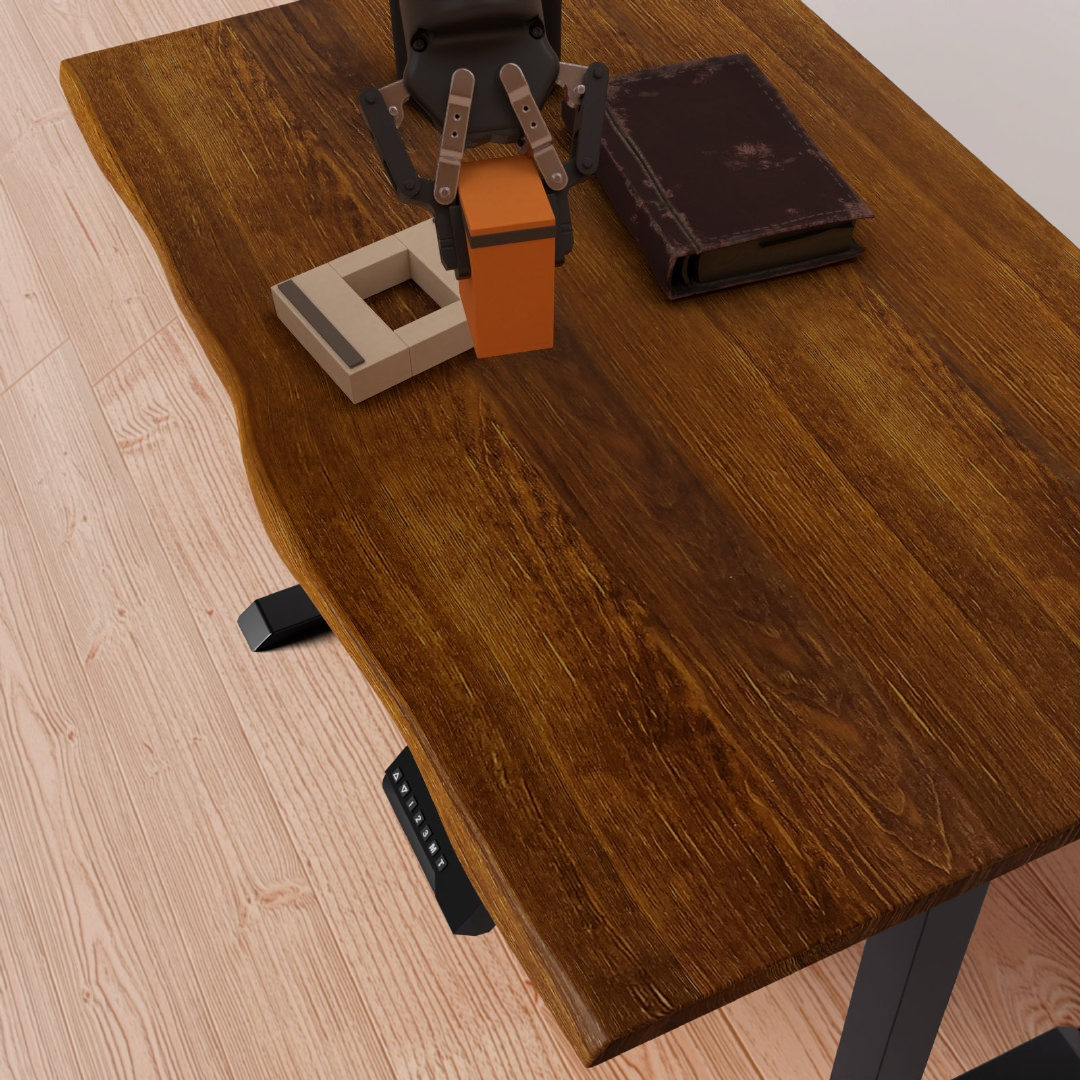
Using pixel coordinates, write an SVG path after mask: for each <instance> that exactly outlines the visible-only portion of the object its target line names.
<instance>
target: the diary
mask: <svg viewBox="0 0 1080 1080" xmlns="http://www.w3.org/2000/svg"><path fill="white" fill-rule="evenodd" d="M560 103H561V104H560V116H561V119H562V121H563V123H564V125H565V128H566V129H567V131H568V133H569V134H570V136H571V137H572V136H573V128H574V120H575V111H576V109H574V108H571V107H570V106H569V105H568V104H567V103H566V100H565V95H564V96H563V99H562V101H561V102H560ZM594 174H595V177H596V178H597V180H598V181H599V183H600V185H601V187H602V189H603V191H604V192H605V194H606V196H607V198H608V199H609V202H610V203H611V205H612V207H613V209H614V211H615V212H616V213H617V215H618V217H619V218H620V219H621V221H622V223H623V224H624V226H625V227H626V229H627V231H628V232H629V233H630V235H631V237H632V238H633V240H634V241H635V243H636V244H637V246H638V248H639V249H640V251H641V253H642V254H643V256H644V258H645V260H646V262H647V264H648V265H649V267H650V269H651V271H652V273H653V274H654V277H655V278H656V281H657V282H658V285H659V286H660V287H661V289H662V291H663V293H664V295H665V296H666V298H667V299H669V300H670V301H674V300H677V299H681V298H686V297H689V296H693V295H694V294H695V295H700V294H705V293H708V292H709V293H710V292H712V291H717V290H722V289H727V288H731V287H735V286H740V285H745V284H750V283H754V282H759V281H764V280H768V279H772V278H777V277H781V276H785V275H790V274H795V273H800V272H804V271H809V270H813V269H816V268H820V267H824V266H827V265H830V264H831V265H832V264H835V263H838V262H842V261H846V260H850V259H853V258H855V257H858V256H860V255H861V254H863V253H865V252H867V249H866V247H864V246H861V245H859V243H858V242H857V241H856V240H855V238H854V237H853V234H854V231H855V228H856V223H857V220H863V219H875V218H876V216H875V214H874V213H873V211H872V210H871V209H870V208H869V206H868V205H867V204H866V202H864V201H863V199H862V198H861V196H859V194H858V193H857V192H856V190H855V189H854V188H853V187H852V186H851V184H850V183H849V182H848V181H847V180H846V178H845V177H844V176H843V174H842V173H841V172H840V170H838V168H836V166H835V165H834V164H833V162H832V161H831V160H830V159H829V157H828V156H827V155H826V154H825V152H824V151H823V150H822V149H821V147H820V146H819V145H818V144H817V143H816V142H815V140H814V139H813V138H812V137H811V135H810V134H809V132H808V131H807V130H806V129H805V128H804V126H803V125H802V124H801V122H800V120H799V119H798V117H797V115H795V113H794V112H793V111H792V109H791V108H790V106H789V105H788V104H787V102H786V100H785V99H784V97H782V94H781V93H780V92H779V91H778V89H777V88H776V87H775V85H774V84H773V83H772V81H770V80H769V78H768V77H767V76H766V75H765V74H764V72H763V71H762V70H761V69H760V67H758V65H757V64H756V63H755V61H754V60H753V59H752V58H751V56H749V54H748V53H747V52H746V51H743V52H738V53H731V54H725V55H718V56H713V57H712V56H711V57H706V58H701V59H694V60H688V61H683V62H677V63H676V62H675V63H670V64H666V65H660V66H655V67H651V68H646V69H642V70H641V69H640V70H637V71H633V72H632V71H631V72H628V73H624V74H619V75H615V76H611V77H610V76H609V80H608V88H607V97H606V105H605V113H604V121H603V130H602V138H601V146H600V154H599V163H598V168H597V170H596V171H595V172H594Z"/></svg>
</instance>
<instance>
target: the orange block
mask: <svg viewBox="0 0 1080 1080" xmlns="http://www.w3.org/2000/svg"><path fill="white" fill-rule="evenodd" d="M456 202H457V206H458V205H460V208H461V214H462V220H463V224H464V227H465V233H466V240H467V246H468V252H469V259H470V265H471V277H470V278H469V279H464V280H458V282H459V294H460V297H461V301H462V305H463V308H464V312H465V315H466V319H467V323H468V326H469V330H470V334H471V337H472V341H473V345H474V347H473V348H474V352H475V355H476V358H477V359H485V358H492V357H499V356H506V355H512V354H519V353H525V352H532V351H539V350H546V349H552V348H554V326H555V324H554V323H555V320H554V319H555V268H556V267H555V237H556V223H555V217H554V214H553V211H552V209H551V206H550V203H549V201H548V198H547V195H546V193H545V190H544V187H543V185H542V182H541V179H540V177H539V174H538V171H537V169H536V166H535V163H534V160H533V158H532V157H531V158H529V159H528V158H527V157H526V156H525V155H520V154H518V155H510V156H509V155H508V156H502V157H494V158H487V159H486V158H485V159H477V160H469V161H462V162H461V167H460V173H459V180H458V186H457V193H456Z"/></svg>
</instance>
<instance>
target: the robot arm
mask: <svg viewBox="0 0 1080 1080" xmlns="http://www.w3.org/2000/svg"><path fill="white" fill-rule="evenodd" d="M399 5H400V11H401V17H402V24H403V30H404V36H405V43H406V49H407V65H406V67H405V70H404V73H403V79H401V80H399V81H398V80H396V81H395V82H392V83H389V84H387V85H384V86H382V87H379V88H377V87H375V86H370V85H367V86H366V87H364V88H363V89H361V91H360V93H359V97H358V112H359V115H360V118H361V121H362V122H363V124H364V126H365V129H366V131H367V133H368V135H369V139H370V141H371V142H372V144H373V147H374V149H375V151H376V153H377V155H378V156H377V157H378V158H379V160H380V163H381V164H382V167H383V170H384V171H385V173H386V175H387V178H388V180H389V182H390V184H391V187H392V189H393V191H394V193H395V196H396V197H397V200H398V202H400V203H402V204H403V205H407V206H409V205H415V206H418V207H423V208H425V209H427V210H428V211H429V212H430V213H431V214H432V216H433V217H434V221H435V228H436V234H437V240H438V247H439V253H440V259H441V263H442V265H443V267H444V268H445V270H446V271H448V270H454V272H455V277H456V280H464V279H469V278H470V277H471V265H470V259H469V252H468V246H467V240H466V233H465V227H464V224H463V220H462V214H461V208H460V205H458V206H457V202H456V193H457V186H458V180H459V173H460V167H461V162H463V157H464V151H465V150H469V149H476V148H478V147H480V146H483V145H486V144H489V143H490V144H491V143H492V144H498V145H511V144H514V146H515V148H516V151H517V152H518V155H525V156H526V157H527V158H528V159H529V158H531V157H532V158H533V160H534V163H535V166H536V169H537V171H538V174H539V177H540V179H541V182H542V185H543V187H544V190H545V193H546V195H547V198H548V201H549V203H550V206H551V209H552V211H553V214H554V217H555V223H556V237H555V268H561V267H562V266H564V264H565V263H566V256H568V255H569V254H570V253H572V251H573V247H574V244H575V239H574V231H573V225H572V224H573V223H572V219H571V210H570V204H569V197H568V196H569V191H570V189H572V188H573V187H575V186H578V185H579V184H584V183H585V182H587V180H589V178H590V177H591V176H592V175H593V174H595V171H596V170H597V168H598V163H599V154H600V146H601V138H602V130H603V121H604V113H605V105H606V97H607V88H608V80H609V78H610V70H609V67H608V66H607V65H606V64H605V63H604V62H602V61H594V62H592V63H590V65H588V66H586V65H583V64H576V63H570V62H565V61H561V62H560V61H559V59H558V56H557V54H556V53H555V51H554V50H553V49H552V47H551V46H550V44H549V42H548V39H547V36H546V31H545V24H544V17H543V10H542V3H541V0H399ZM555 83H556V85H559V86H560V87H561V88H562V90H563V93H564V96H565V100H566V103H567V104H568V105H569V106H570V107H571V108H574V109H576V111H575V120H574V128H573V136H571V137H572V138H571V145H570V155H569V160H566V161H565V162H564V163H562V161H561V159H560V157H559V155H558V152H557V151H556V148H555V146H554V140H553V138H552V135H551V132H550V131H549V128H548V126H547V124H546V121H545V120H544V118H543V115H542V113H541V112H542V110H543V108H544V106H545V104H546V102H547V100H548V98H549V96H550V94H551V92H552V91H553V88H554V87H555V86H554V84H555ZM408 101H409V102H410V103H411V104H412V105H413V107H415V108H416V110H418V112H419V113H420V114H421V115H422V116H423V117H424V118H425V120H427V121H428V122H429V123H430V125H431V126H433V128H434V129H435V130H436V131H437V132H438V133H439V141H438V147H437V155H436V160H435V166H434V167H435V169H434V170H435V171H434V174H433V175H434V176H433V179H429V178H424V177H420V176H419V175H418V173H417V170H416V168H415V166H414V164H413V162H412V160H411V156H410V155H409V153H408V150H407V147H406V146H405V144H404V142H403V139H402V137H401V135H400V132H399V129H400V128H401V127H402V126H403V123H404V118H405V112H404V107H403V106H404V105H405V103H406V102H408ZM433 217H432V218H433Z"/></svg>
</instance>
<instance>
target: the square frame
mask: <svg viewBox="0 0 1080 1080" xmlns="http://www.w3.org/2000/svg"><path fill="white" fill-rule="evenodd" d="M410 279H412V281H414V282H415V283H416V284H417V285H418V286H419V287H420V289H422V290H423V291H424V292H425V294H427V295H428V296H429V297H430V298H431V299H432V300H433V301H434V302H435V303H436V304H437V305H438V306H439V307H440V308H439V309H437V310H435V311H432V312H430V313H429V314H427V315H424V316H422V317H420V318H418V319H416V320H413V321H412V322H409V323H407V324H404V325H403V326H400V327H398V328H395V329H394V330H393V329H392V328H390V326H389V325H387V323H385V321H384V320H383V319H382V318H381V317H380V316H379V315H378V314H377V313H376V312H375V311H374V310H373V309H372V308H371V307H370V305H368V304H367V302H365V300H366V299H368V298H370V297H372V296H375V295H377V294H379V293H381V292H384V291H386V290H388V289H391V288H393V287H395V286H397V285H399V284H401V283H404V282H406V281H409V280H410ZM270 289H271V295H272V300H273V304H274V308H275V313H276V316H277V318H278V319H279V320H280V321H281V323H282V324H283V326H285V327H286V329H288V331H289V332H290V334H292V335H293V336H294V337H295V339H296V340H297V341H298V342H299V343H300V344H301V346H303V348H304V349H305V350H306V351H307V352H308V353H309V355H310V356H311V357H312V358H313V359H314V360H315V361H316V363H318V365H319V366H320V367H321V368H322V369H323V370H324V372H325V373H326V374H327V375H328V376H329V377H330V378H331V380H333V382H334V383H335V384H336V385H337V386H338V387H339V389H340V390H341V391H342V392H343V393H344V395H346V396H347V398H348V399H349V400H350V401H351V402H352V403H353V405H357V404H359V403H361V402H363V401H365V400H367V399H370V398H371V397H374V396H376V395H377V394H380V393H382V392H384V391H386V390H388V389H389V388H390V389H391V388H392V387H394V386H396V385H398V384H401V383H403V382H404V381H406V380H409V379H411V378H412V377H415V376H417V375H419V374H421V373H424V372H425V371H427V370H429V369H431V368H433V367H435V366H437V365H439V364H442V363H444V362H446V361H448V360H450V359H452V358H454V357H456V356H458V355H460V354H462V353H465V352H466V351H469V350H471V349H472V348H474V345H473V341H472V337H471V334H470V330H469V326H468V323H467V319H466V315H465V312H464V308H463V305H462V301H461V297H460V294H459V282H458V280H456V277H455V272H454V270H448V271H446V270H445V268H444V267H443V265H442V263H441V259H440V253H439V247H438V240H437V234H436V228H435V221H434V217H431V218H429V219H426V220H423V221H421V222H419V223H417V224H415V225H412V226H410V227H408V228H405V229H403V230H400V231H398V232H396V233H394V234H390V235H389V236H387V237H384V238H382V239H379V240H377V241H375V242H372V243H370V244H368V245H365V246H363V247H361V248H358V249H356V250H354V251H351V252H349V253H346V254H345V255H342V256H340V257H338V258H335V259H333V260H330V261H328V262H326V263H324V264H321V265H318V266H316V267H314V268H312V269H309V270H307V271H304V272H302V273H300V274H298V275H295V276H292V277H290V278H288V279H286V280H283V281H281V282H279V283H277V284H274V285H272V286H270Z"/></svg>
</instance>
